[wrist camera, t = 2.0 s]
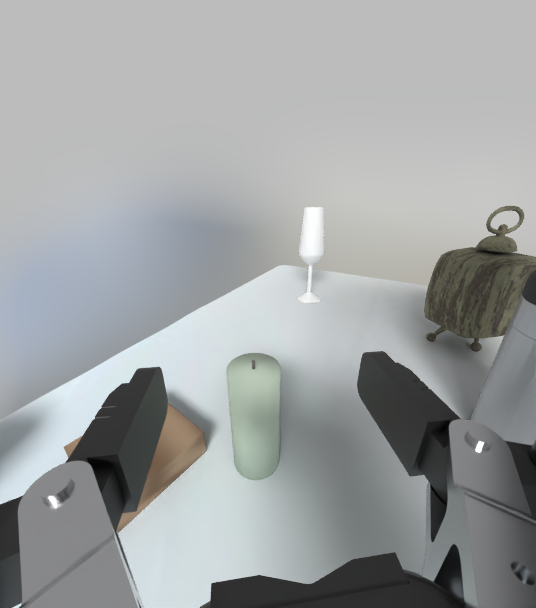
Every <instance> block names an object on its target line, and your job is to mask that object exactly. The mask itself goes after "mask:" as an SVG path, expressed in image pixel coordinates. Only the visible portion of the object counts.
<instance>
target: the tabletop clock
mask: <svg viewBox="0 0 536 608" xmlns="http://www.w3.org/2000/svg"><path fill="white" fill-rule="evenodd" d="M507 210H508V211H509V210H512V211H516V212H517V213H518V214H519V216H520V220H519V222H518V224H517V225H516V226H514V227H512V228H510V229H507V227H508V226H507V225H505V224H503V225H500V226H499V228H498V230H495V229H493V228H492V227H491V226H490V222H491V220H492V218H493V217H494V216H495V215H496V214H498V213H500V212H502V211H507ZM523 219H524V213H523V211H522V209H520V208H519V207H516V206H505V207H501V208H499V209H497V210H496V211H494V212H493V213H492V214H491V215H490V217H489V218H488V220H487V224H486V225H487V229H488V231H489V232H491V233H494V234H496V236H490V237H486V238H485V239H483V240H482V241H480V242H479V244H478V245H477V246H476V248H473V247H471V248H464V249H457V250H452V251H449V252H447V253H445V254H443V255H441V257H440V259H439V260H438V262H437V264H436V266H435V268H434V271H433V274H432V277H431V280H430V283H429V286H428V290H427V295H426V301H425V309H424V312H425V317H426V318H428V319H429V320H431V321H433V322H435V323H437V324H438V325H440V326H441V328H439V329H438V330H437V331H436V332H435V333H429V334H427V339H428V340H429V341H434V340H435V339H436V335H438V334H440V333H441V332H443V331H445V330H449V331H451V332H453V333H455V334H457V335H459V336H461V337H466V338H474V341H475V342H474V343H472V344H471V349H472V350H474V351H480V350H481V348H482V346H481V344H480V343H478V341H479V338H488V337H498V336H503V335H505V333H506V331H507V328H508V326H509V323H510V321H511V318H512V316H513V313H514V311H515V308H516V306H517V303H518V301H519V299H520V296H521V294H522V291H523V289H524V286H525V284H526V281H527V279H528V277H529V275H530V274H531V273H532V272H533V271H534V270H535V269H536V257H534V256H528V255H523V254H518V253H512V252H515V251H517V245H516V243H515V241H514V240H513V239H512V238H509V237H506V236H505V234H507V233H510V232H512V231H514V230H516V229H517V228H518V227H519V226H520V225H521V224H522V222H523Z"/></svg>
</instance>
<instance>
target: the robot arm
mask: <svg viewBox="0 0 536 608" xmlns="http://www.w3.org/2000/svg"><path fill="white" fill-rule="evenodd" d="M357 387H358V393H359V396H360V398H361V400H362V401H363V403H364V404H365V406H366V407H367V409H368V411H369V412H370V414H371V415H372V417H373V419H374V420H375V422H376V423H377V425H378V426H379V428H380V430H381V431H382V433H383V434H384V436H385V437H386V439H387V441H388V442H389V444H390V445H391V447H392V449H393V450H394V452H395V453H396V455H397V456H398V458H399V460H400V461H401V463H402V464H403V466H404V467H405V469H406V471H407V472H408V474H409V475H410V476H418V475H425V477H426V478H427V479H428V484H427V489H426V554H425V560H424V565H423V571H422V576H421V575H419V574H416V573H413V572H410V571H407V570H403V569H402V567H401V565H400V562H399V560H398V558H397V556H396V554H395V552H394V553H388V554H382V555H377V556H371V557H365V558H359V559H353V560H351V561H349V562H348V563H346V564H344V565H343V566H341V567H340V568H338V569H336V570H335V571H333V572H331V573H330V574H328V575H326V576H325V577H323V578H321V579H320V580H318V581H316V582H315V583H312V584H303V583H297V582H292V581H287V580H282V579H277V578H272V577H266V576H261V575H257V576H252V577H246V578H240V579H234V580H228V581H222V582H216V583H212V584H211V601H209V602H208V603H206V604H204V605H203V606H201V607H200V608H536V269H535V270H534V271H533V272H532V273H531V274H530V275H529V277H528V279H527V281H526V284H525V286H524V289H523V291H522V294H521V296H520V299H519V301H518V303H517V306H516V308H515V311H514V313H513V316H512V318H511V321H510V323H509V326H508V328H507V331H506V333H505V336H504V338H503V341H502V343H501V345H500V348H499V350H498V353H497V355H496V358H495V360H494V362H493V365H492V367H491V370H490V372H489V375H488V377H487V379H486V382H485V384H484V387H483V389H482V392H481V394H480V396H479V398H478V401H477V403H476V406H475V408H474V411H473V413H472V416H471V418H470V420H466V419H460V418H459V417H458V416H457V415H456V414H455V413H454V412H453V411H452V410H451V409H450V408H449V407H448V406H447V405H446V404H445V403H444V402H443V401H442V400H441V399H440V398H439V397H438V396H437V395H436V394H435V393H434V392H433V391H432V390H431V389H428V387H427V386H426V385H425V384H424V383H423V382H422V381H420V379H419V378H418V377H417V376H416V375H415V374H414V373H413V372H412V371H411V370H410V369H408V368H406V367H404V366H403V365H401V364H399V363H395V362H394V361H393V360H392V359H391V358H390V357H389V356H388V355H387V354H386V353H385V352H383V351H379V352H365V353H363V355H362V358H361V364H360V370H359V376H358V383H357ZM167 409H168V399H167V394H166V389H165V384H164V379H163V374H162V370H161V368H160V367H152V368H139V369H137V370H136V372H135V374H134V375H133V377H132V379H131V381H130V382H129V383H124V384H121V385H120V386H119V387H117V388H116V389H115V390H114V391H113V392H112V393H110V394H109V396H108V397H107V399H106V400H105V402H104V403H103V405H102V408H101V409H100V410H99V411H98V413H97V414H96V416H95V419H94V420H93V421H92V422H91V424H90V425H89V427H88V429H87V430H86V432H85V433H84V435H83V436H82V438H81V439H80V441H79V443H78V444H77V446H76V447H75V449H74V450H73V452H72V454H71V455H70V457H69V458H68V460H67V461H66V463H64V464H62V465H59V466H57V467H55V468H53V469H52V470H50V471H48V472H47V473H45V474H44V475H42V476H41V477H40V478H39V479H38V480H36V481H35V482H34V483H33V484H32V485H31V486H30V488H29V489H28V490H27V491H26V493H25V494H24V495H23V496H21V497H19V498H16V499H13V500H11V501H8V502H6V503H3V504H0V608H12V607H14V606H16V605H18V604H20V603H22V605H21V607H19V608H144V606H143V603H142V601H141V598H140V595H139V592H138V589H137V587H136V584H135V581H134V578H133V575H132V572H131V569H130V567H129V564H128V561H127V558H126V555H125V552H124V549H123V547H122V544H121V541H120V538H119V535H118V532H117V527H118V525H119V522H120V519H121V516H122V513H129V512H136V511H137V508H138V505H139V502H140V499H141V495H142V492H143V489H144V486H145V483H146V479H147V476H148V473H149V470H150V467H151V463H152V460H153V457H154V454H155V451H156V448H157V444H158V441H159V438H160V435H161V432H162V428H163V425H164V422H165V419H166V415H167Z"/></svg>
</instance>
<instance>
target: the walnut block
mask: <svg viewBox="0 0 536 608" xmlns="http://www.w3.org/2000/svg"><path fill="white" fill-rule="evenodd" d="M81 438H82V436H81V437H80V438H78V439H76V440H75V441H73V442H71V443H70V444H68V445H66V446H65V447H64V449H65V451H66V453H67V455H68V458H69V457H70V455H71V454H72V452H73V450H74V449H75V447H76V446H77V444H78V443H79V441H80V439H81ZM205 452H206V446H205V439H204V432H203V431H202V430H200V429H199V428H198V427H197V426H195V425H194V424H193V423H192V422H190V421H189V420H188V419H187V418H186V417H184V416H183V415H182V414H181V413H179V412H178V411H177V410H176V409H174V408H173V407H172V406H171V405H170V404H168V409H167V415H166V419H165V422H164V425H163V428H162V432H161V435H160V438H159V441H158V444H157V448H156V451H155V454H154V457H153V460H152V463H151V467H150V470H149V473H148V476H147V479H146V483H145V486H144V489H143V492H142V495H141V499H140V502H139V505H138V508H137V511H136V512H129V513H122V516H121V519H120V522H119V525H118V527H117V532H119V531H120V530H122V529H123V528H124V527H125V526H126V525H127V524H128V523H129V522H130V521H131V520H132V519H133V518H135V517H136V516H137V515H138V514H139V513H140V512H141V511H142V510H143V509H144V508H145V507H146V506H147V505H149V504H150V503H151V502H152V501H153V500H154V499H155V498H156V497H157V496H158V495H159V494H160V493H162V492H163V491H164V490H165V489H166V488H167V487H168V486H169V485H170V484H171V483H172V482H173V481H174V480H176V479H177V478H178V477H179V476H180V475H181V474H182V473H183V472H184V471H185V470H186V469H187V468H189V467H190V466H191V465H192V464H193V463H194V462H195V461H196V460H197V459H198V458H199V457H200V456H202V455H203V454H204V453H205Z"/></svg>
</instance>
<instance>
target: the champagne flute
mask: <svg viewBox="0 0 536 608" xmlns="http://www.w3.org/2000/svg"><path fill="white" fill-rule="evenodd" d="M299 255H300V257H301V258H302V260H303V261H304V262H305V263H307V264H308V282H307V292H306V293H304V294H302V295H300V296H298V297H297V300H299V301H301V302H304V303H316V302H319V301H320V300H321V299H320V297H318V296H317V295H315V294H313V293H312V292H311V287H312V271H313V265H314V264H315V263H317V262H318V261H319V260H320V259H321V258H322V257H323V255H324V208H323V207H307V208H306V207H305V208H304V215H303V223H302V230H301V237H300V246H299Z"/></svg>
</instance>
